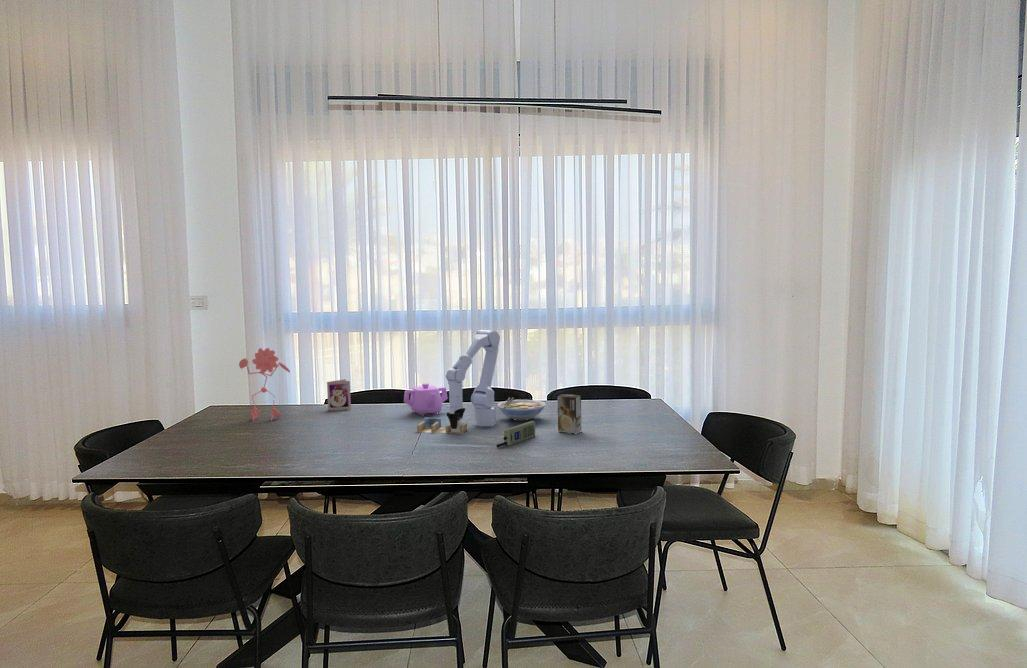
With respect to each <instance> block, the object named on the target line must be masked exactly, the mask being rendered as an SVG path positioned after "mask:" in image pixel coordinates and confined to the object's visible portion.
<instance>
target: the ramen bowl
mask: <svg viewBox="0 0 1027 668" xmlns="http://www.w3.org/2000/svg"><path fill="white" fill-rule="evenodd" d="M497 406H498V408H499V411H500V412H501V413H502V414H503V415H504V416H506V417H507V418H509V419H513V420H514V419H516V420H515V421H517V420H526V419H529V420H531V419H532V418H535V417H537V416H538V415H539V414H541V412H542V411H543V410H544V409H545V407H546V403H545V402H543V401H541V400H536V399H535V400H534V399H515V397H510V396H509V397H508V399H507V400H505V401H500V402H498V403H497ZM526 421H527V420H526Z"/></svg>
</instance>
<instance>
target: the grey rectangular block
mask: <svg viewBox="0 0 1027 668" xmlns="http://www.w3.org/2000/svg"><path fill="white" fill-rule="evenodd" d="M462 424H463V418H462V417H458V422H457V429H452V428H451V432H460V426H461V425H462Z"/></svg>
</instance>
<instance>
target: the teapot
mask: <svg viewBox="0 0 1027 668" xmlns="http://www.w3.org/2000/svg"><path fill="white" fill-rule="evenodd" d="M446 400H449V396H448V392H447V388H446V387H445V386H441V387H437V386H434V385H430V383H427V382H426V383H425V382H424V383H422V384H421V386H414V387H412V389H407V390H405V391H404V395H403V403H405V404H406V405H408V406H409V407H410V409H411V410H412V411H413V413H414V412H416V413H415V414H418V415H424V416H425V414H430V413H432V415H438V414H439V413H440V412H441V411H442V410H443V409H442V408H443V403H444V402H446ZM437 413H438V414H437Z"/></svg>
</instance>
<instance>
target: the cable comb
mask: <svg viewBox="0 0 1027 668" xmlns="http://www.w3.org/2000/svg"><path fill="white" fill-rule="evenodd" d="M423 420H424V421H421V422H420V423H418V424H417V425H416V432H417V433H427V434H429V433H430V434H456V435H457V434H459V435H460V434H461V435H463V434H464V433H465V432H467V430H469V427H468V422H464V423H463V422H462V425H461V426H460V432H451V425H450V422H449V423H448V424H446V425H445V427H442V418H441V417H424V419H423Z"/></svg>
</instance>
